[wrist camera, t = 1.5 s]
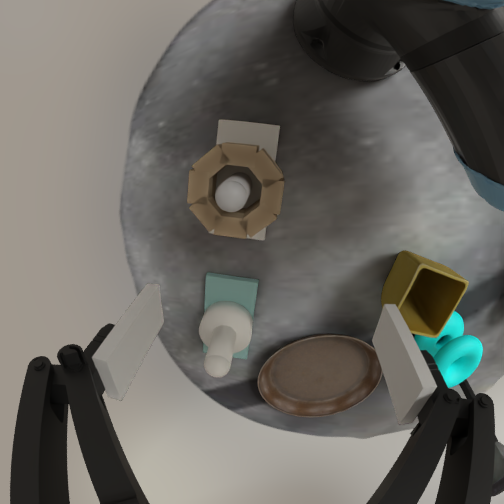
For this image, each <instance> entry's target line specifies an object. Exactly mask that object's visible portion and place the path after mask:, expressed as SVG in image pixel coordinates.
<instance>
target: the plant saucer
mask: <svg viewBox="0 0 504 504" xmlns="http://www.w3.org/2000/svg"><path fill="white" fill-rule="evenodd" d="M382 372H383V371H382V368H381V365H380V362H379V359H378V356H377V353H376V350H375V349H374V348H373V347H372V346H370V345H369V344H367V343H366V342H364V341H362V340H360V339H357V338H354V337H351V336H347V335H341V334H319V335H313V336H308V337H305V338H301V339H299V340H296V341H294V342H291V343H289V344H287V345H286V346H284V347H282V348H281V349H279V350H278V351H277V352H275V353H274V354H273V355H272V356H271V357H270V358H269V359H268V360H267V361H266V362H265V364H264V365H263V366H262V368H261V370H260V372H259V375H258V389H259V392H260V394H261V396H262V397H263V398H264V400H265V401H266V402H267V403H268V404H269V405H271V406H272V407H274V408H275V409H277V410H279V411H281V412H284V413H286V414H290V415H294V416H300V417H322V416H328V415H333V414H337V413H340V412H343V411H345V410H348V409H350V408H352V407H354V406H356V405H357V404H359V403H361V402H362V401H363V400H365V399H366V398H367V397H368V396H369V395H370V394H371V393H372V392H373V391H374V390H375V388H376V387H377V385H378V384H379V382H380V380H381V377H382Z"/></svg>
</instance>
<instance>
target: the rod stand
mask: <svg viewBox="0 0 504 504" xmlns="http://www.w3.org/2000/svg"><path fill="white" fill-rule="evenodd" d="M279 131H280V126H278V125H270V124H262V123H253V122H244V121H233V120H221V119H219V124H218V133H217V142H216V145H217V144H222V143H226V142H233V143H243V144H252V145H259V151H260V150H261V149H262V148H264V149H265V150H266V151H267V153H268V154H269V155H270V157H271V158H272V159H273V160H274V162H275V161H276V153H277V146H278V138H279ZM261 190H262V184H261V182H260V181H259V180H258V179H257V177H256V176H255V175H254V174H253V172H252V171H251V170H250V169H249V167H243V166H234V165H227V166H225V167H224V168H223V169H222V170H220V171H219V172H218V173H217V181H216V193H215V200H216V203H217V205H218V206H219V207H220V208H221V209H222V210H224V211H226V212H236V211H238V210H240V209H241V208H248V207H249V206H250V205H252V204H253V203H254V202H256V201H257V200H259V199H260V198H261ZM209 233H212V234H214V229H213V230H212V231H211V232H209ZM265 233H266V227H265V228H264V229H262V230H261V231H259V232H258V233H257V234H255V235H254V236H253V237H251V238H250V236H249V235H248V234H247V237H246V238H249V239H256V240H265Z"/></svg>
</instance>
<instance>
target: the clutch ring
mask: <svg viewBox="0 0 504 504" xmlns="http://www.w3.org/2000/svg"><path fill="white" fill-rule="evenodd" d="M227 165H234V166H243V167H249V169H250V170H251V171H252V172H253V174H254V175H255V176H256V177H257V179H258V180H259V181H260V182H261V184H262V190H261V198H260V199H259V200H257V201H256V202H254V203H253V204H252V205H250V206H249V207H248V208H241V209H240V210H238V211H236V212H226V211H224V210H222V209H221V208H220V207H219V206H218V205H217V203H216V200H215V193H216V181H217V173H218V172H219V171H220V170H222V169H223V168H224V167H225V166H227ZM192 167H193V168H194V169H192V170H190V171H189V182H188V198H187V203H192V205H191V206H190V207H189V209H190V210H191V211H192V212H193V213H194V214H195V216H196V217H197V218H198V219H199V220H200V222H201V223H202V224H203V225H204V226H205V227H206V229H207V230H208V231H209V232H211V231H212V230H213V229H214V235H220V236H228V237H235V238H243V239H246V237H247V234H248V235H249V236H250V238H251V237H253V236H254V235H255V234H257V233H258V232H259V231H261V230H262V229H264V228H265V227H266V226H268V225H269V224H271V223H272V222H273V221H275V220H276V219H277V214H279V215H280V209H281V203H282V196H283V189H284V182H285V181H284V176H283V173H282V171H281V169H280V168H279V167H278V165H277V164H276V163H275V162H274V160H273V159H272V158H271V157H270V155H269V154H268V153H267V151H266V150H265V149H264V148H262V149H261V150H260V151H259V145H252V144H243V143H233V142H226V143H222V144H217V145H216V146H215V147H214V148H212V149H211V150H210V151H209V152H208V153H206V154H205V155H204V156H203V157H202V158H200V159H199V160H198V161H197V162H196V163H195V164H193V165H192Z"/></svg>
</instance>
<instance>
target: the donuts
mask: <svg viewBox="0 0 504 504" xmlns="http://www.w3.org/2000/svg"><path fill="white" fill-rule="evenodd" d="M463 331H464V323H463V320H462V317H461V316H460V315H459V314H458V313H457V312H455V311H454V312H453V314H452V315H451V317H450V319H449V320H448V322H447V324H446V325H445V327H444V329H443V330H442V332H441V333H440V334H439V336H438V337H437V338H430V337H426V336H421V335H417V334H415V337H414V340H415V341H416V343H417V345H418V347H419V349H420V350H427V351H428V352H429V353H430V354H431V355H432V356H433V358H434V360H435V362H436V364H437V366H438V368H439V369H438V370H440V372H441V374H442V376H443V378H444V380H445V382H446V385H447V387H448V388H450V387H453V386H456V385H458V384H459V383H461V382H463V381H464V380H465V379H467V378H468V377H469V376H470V375H471V374H472V373H473V372H474V370H475V369H476V368H477V366H478V365H479V363H480V360H481V357H482V353H483V348H482V344H481V342H480V340H479V339H478V338H476V337H475V336H472V335H463ZM462 335H463V336H462ZM443 336H444V337H443ZM441 337H443V338H442V339H441V340H440V341H438V340H439V339H440V338H441ZM437 341H438V342H437Z"/></svg>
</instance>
